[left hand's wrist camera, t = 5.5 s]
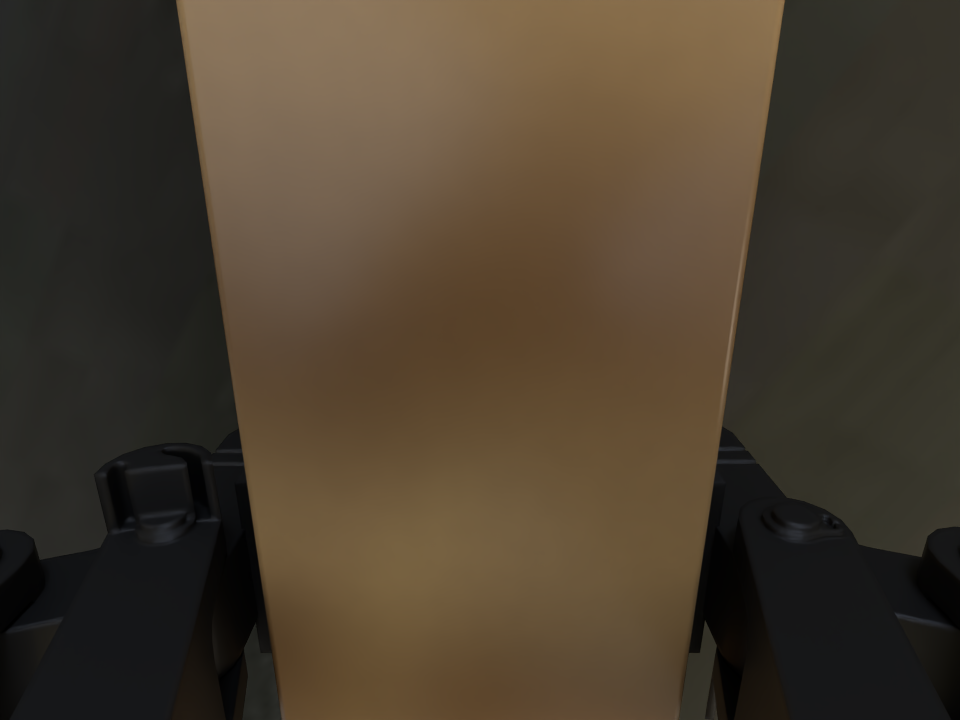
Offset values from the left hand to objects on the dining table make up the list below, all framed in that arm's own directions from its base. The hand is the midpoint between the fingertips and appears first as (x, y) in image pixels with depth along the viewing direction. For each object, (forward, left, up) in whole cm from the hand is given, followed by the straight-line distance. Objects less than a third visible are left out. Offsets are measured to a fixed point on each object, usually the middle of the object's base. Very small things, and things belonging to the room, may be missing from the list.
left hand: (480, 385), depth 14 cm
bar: (+2, +17, -1) cm, 18 cm away
